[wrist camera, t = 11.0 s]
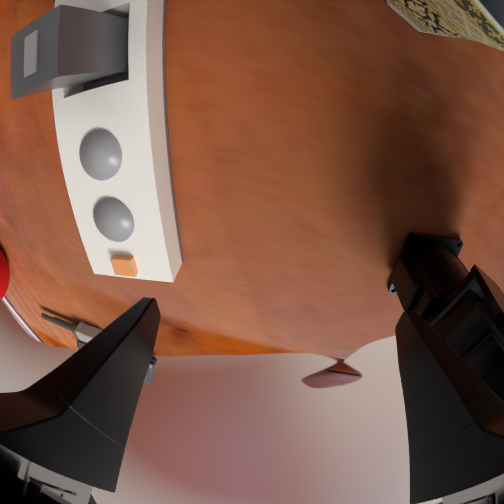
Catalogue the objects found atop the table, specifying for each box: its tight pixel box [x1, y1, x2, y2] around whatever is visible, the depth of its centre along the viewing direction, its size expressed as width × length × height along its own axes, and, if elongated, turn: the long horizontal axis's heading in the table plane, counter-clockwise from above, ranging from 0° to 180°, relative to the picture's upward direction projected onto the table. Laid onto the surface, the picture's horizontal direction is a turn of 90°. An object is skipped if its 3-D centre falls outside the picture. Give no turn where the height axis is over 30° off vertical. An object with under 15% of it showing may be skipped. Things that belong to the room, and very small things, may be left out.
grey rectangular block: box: [11, 4, 129, 100], centre depth 10 cm, size 4×4×8 cm
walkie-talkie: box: [42, 313, 157, 385], centre depth 33 cm, size 9×4×20 cm
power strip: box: [52, 0, 184, 282], centre depth 15 cm, size 8×26×4 cm, turn 179°
